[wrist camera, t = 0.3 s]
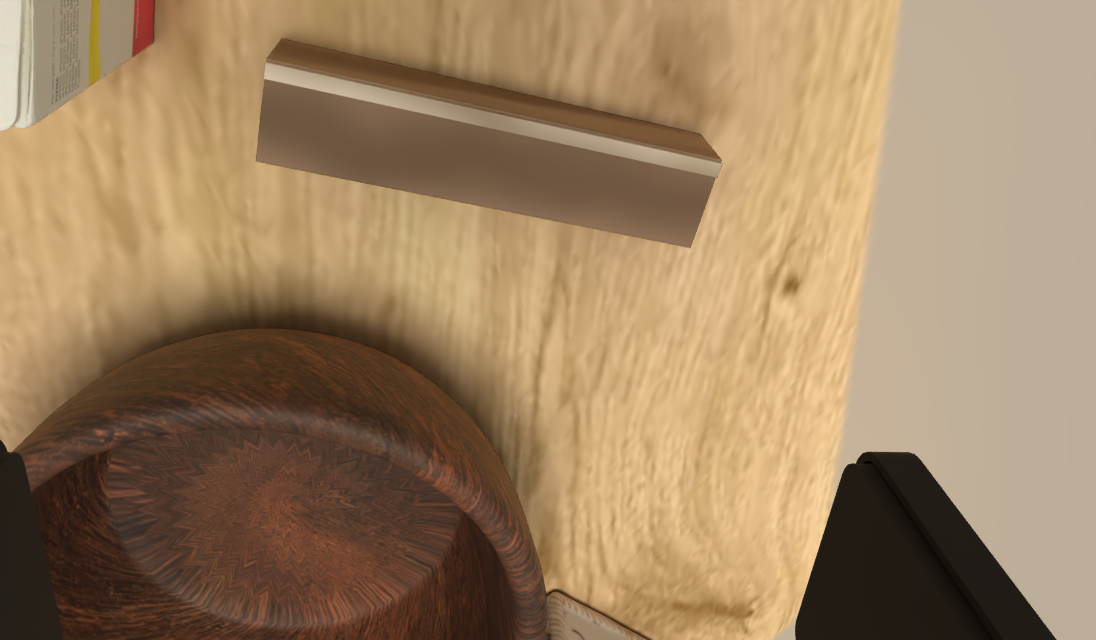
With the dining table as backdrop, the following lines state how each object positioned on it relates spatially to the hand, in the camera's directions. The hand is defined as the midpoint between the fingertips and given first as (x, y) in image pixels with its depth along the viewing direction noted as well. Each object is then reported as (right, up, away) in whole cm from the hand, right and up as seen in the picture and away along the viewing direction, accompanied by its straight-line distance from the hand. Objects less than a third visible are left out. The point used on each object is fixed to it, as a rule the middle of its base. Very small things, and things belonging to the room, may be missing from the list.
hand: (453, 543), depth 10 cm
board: (-1, +11, +28) cm, 30 cm away
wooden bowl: (-12, -6, +36) cm, 39 cm away
